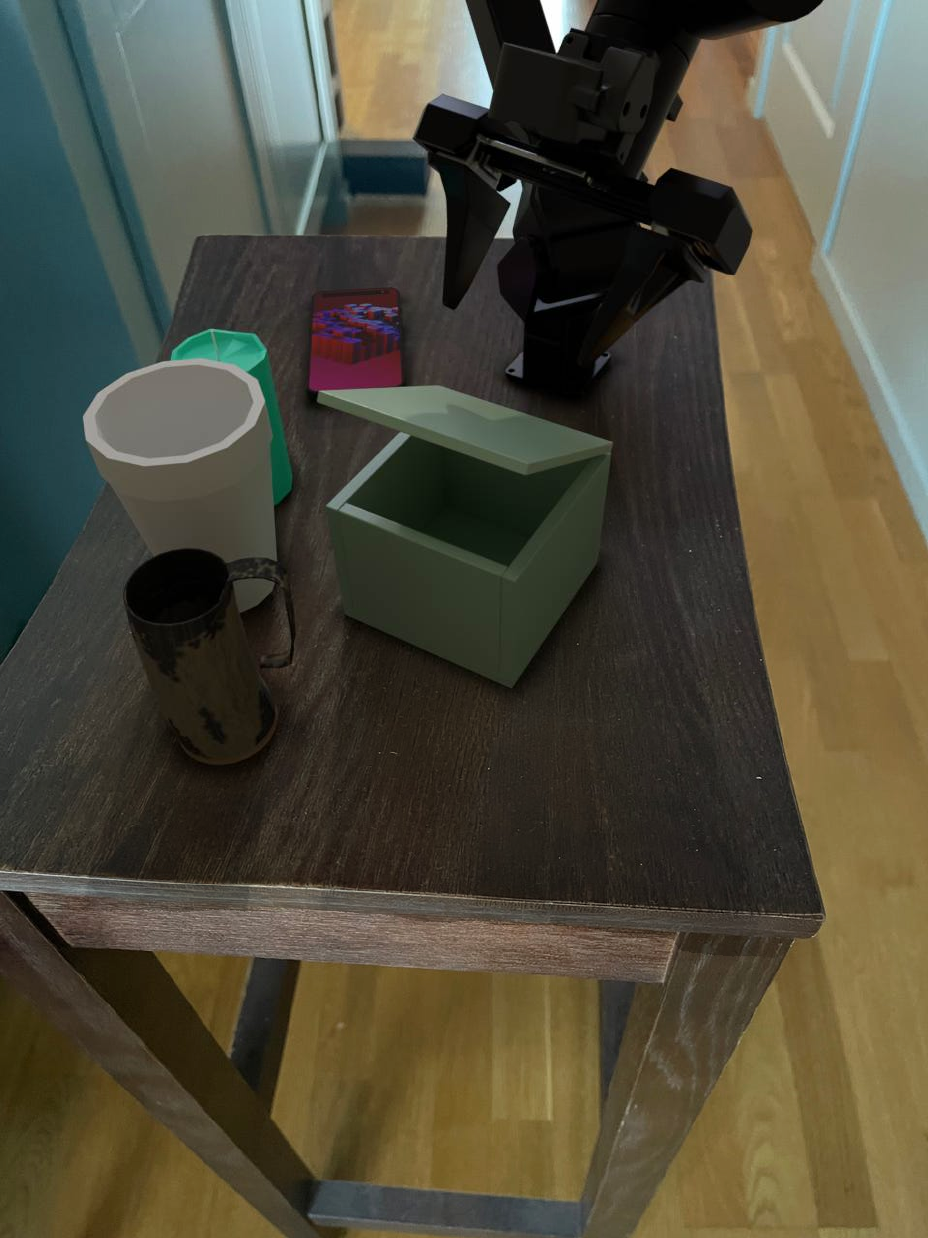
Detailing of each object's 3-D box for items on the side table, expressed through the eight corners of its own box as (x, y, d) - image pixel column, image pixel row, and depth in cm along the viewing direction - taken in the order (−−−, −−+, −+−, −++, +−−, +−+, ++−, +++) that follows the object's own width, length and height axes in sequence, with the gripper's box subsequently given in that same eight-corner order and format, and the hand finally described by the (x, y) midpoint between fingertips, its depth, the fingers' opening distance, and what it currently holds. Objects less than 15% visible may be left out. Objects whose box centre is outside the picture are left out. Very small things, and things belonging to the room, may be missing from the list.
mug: (166, 768, 49) (94, 619, 40) (182, 685, 52) (119, 532, 43) (315, 760, 49) (276, 610, 40) (320, 678, 53) (286, 524, 44)
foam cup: (326, 547, 60) (294, 376, 50) (260, 651, 54) (209, 480, 44) (198, 516, 62) (144, 347, 52) (122, 614, 56) (45, 443, 46)
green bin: (511, 689, 52) (515, 581, 45) (344, 614, 56) (324, 505, 49) (597, 562, 58) (611, 452, 52) (442, 503, 62) (436, 394, 56)
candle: (276, 518, 62) (240, 363, 53) (193, 508, 63) (144, 353, 54) (304, 462, 66) (275, 309, 57) (225, 453, 66) (185, 301, 57)
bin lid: (525, 476, 41) (528, 463, 41) (316, 402, 45) (318, 390, 45) (610, 452, 52) (613, 442, 51) (435, 394, 56) (437, 384, 55)
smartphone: (304, 393, 70) (310, 290, 79) (306, 403, 70) (312, 300, 80) (406, 387, 70) (399, 285, 80) (407, 397, 71) (400, 295, 80)
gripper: (420, -85, 44) (303, 237, 48) (781, -2, 37) (609, 369, 41) (515, 35, 54) (412, 294, 58) (814, 119, 46) (673, 408, 50)
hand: (512, 335), depth 51 cm, fingers open, 9 cm apart
